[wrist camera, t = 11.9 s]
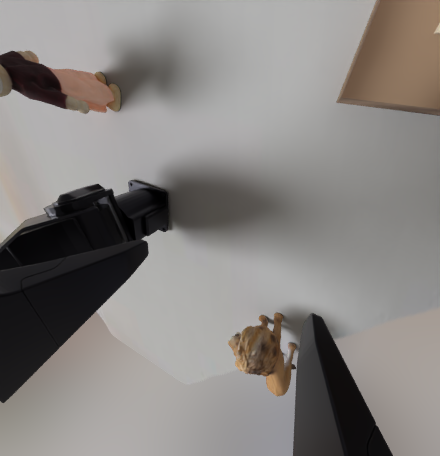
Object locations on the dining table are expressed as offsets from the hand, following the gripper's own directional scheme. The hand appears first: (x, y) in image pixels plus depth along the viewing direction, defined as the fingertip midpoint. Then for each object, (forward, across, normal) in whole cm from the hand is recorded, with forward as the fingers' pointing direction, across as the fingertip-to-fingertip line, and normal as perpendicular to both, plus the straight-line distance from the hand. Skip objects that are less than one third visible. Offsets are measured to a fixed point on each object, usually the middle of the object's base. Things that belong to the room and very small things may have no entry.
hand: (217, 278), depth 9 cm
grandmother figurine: (+13, +21, -7) cm, 26 cm away
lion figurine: (+13, -7, +20) cm, 25 cm away
